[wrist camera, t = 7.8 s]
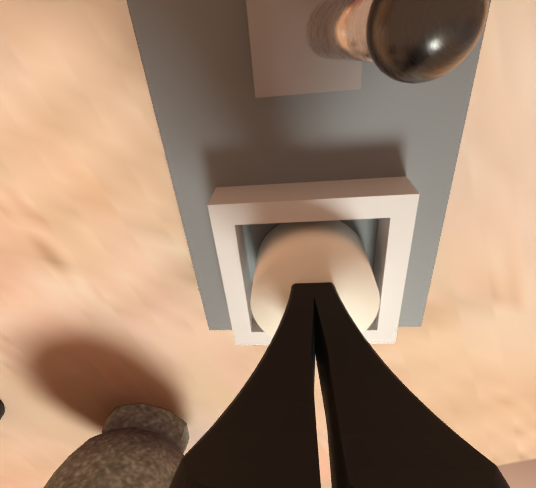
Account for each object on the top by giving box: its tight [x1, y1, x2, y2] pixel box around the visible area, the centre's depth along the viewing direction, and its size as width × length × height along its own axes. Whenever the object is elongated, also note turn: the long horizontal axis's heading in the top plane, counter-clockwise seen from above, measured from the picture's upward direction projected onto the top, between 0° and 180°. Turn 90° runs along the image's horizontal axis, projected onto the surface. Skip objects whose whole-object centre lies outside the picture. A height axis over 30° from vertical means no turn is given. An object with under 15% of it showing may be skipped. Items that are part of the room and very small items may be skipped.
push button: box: [250, 220, 380, 338], centre depth 13 cm, size 4×4×2 cm
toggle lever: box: [306, 0, 489, 84], centre depth 7 cm, size 2×2×4 cm
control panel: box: [127, 0, 491, 345], centre depth 10 cm, size 10×24×4 cm, turn 5°
